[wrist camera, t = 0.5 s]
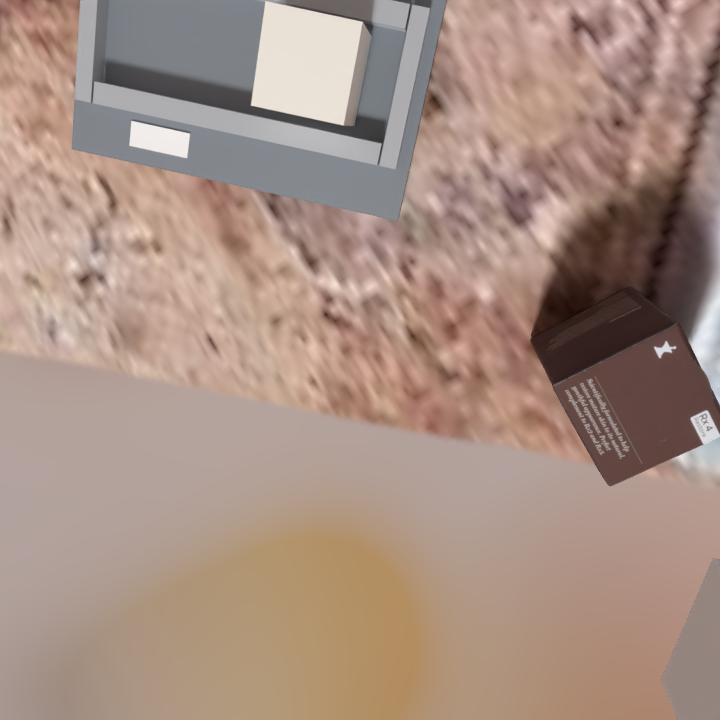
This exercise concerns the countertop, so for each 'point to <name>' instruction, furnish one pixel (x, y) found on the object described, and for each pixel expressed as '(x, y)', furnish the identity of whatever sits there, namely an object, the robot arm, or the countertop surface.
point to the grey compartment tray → (250, 98)
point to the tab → (310, 64)
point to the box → (629, 384)
